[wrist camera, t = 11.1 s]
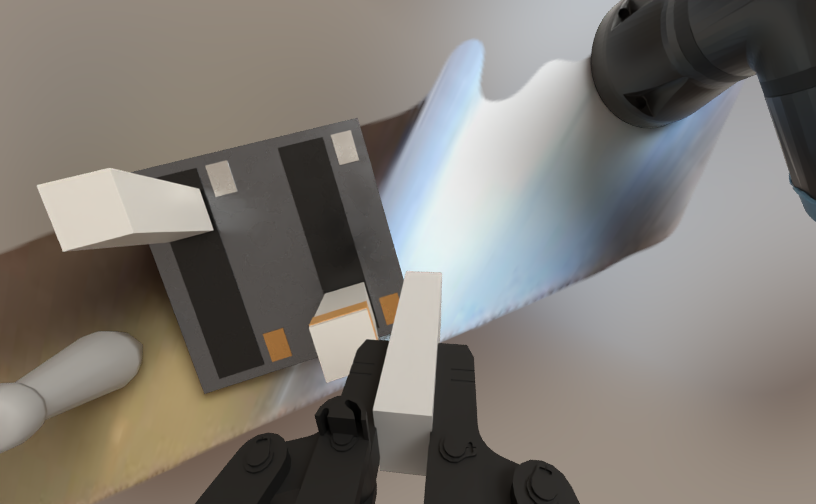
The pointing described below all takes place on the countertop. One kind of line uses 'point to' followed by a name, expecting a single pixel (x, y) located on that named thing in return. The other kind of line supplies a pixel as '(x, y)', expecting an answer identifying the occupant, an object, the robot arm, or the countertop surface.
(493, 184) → the countertop surface
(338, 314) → the handle
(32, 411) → the salt shaker
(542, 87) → the countertop surface
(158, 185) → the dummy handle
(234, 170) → the panel
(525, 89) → the countertop surface
